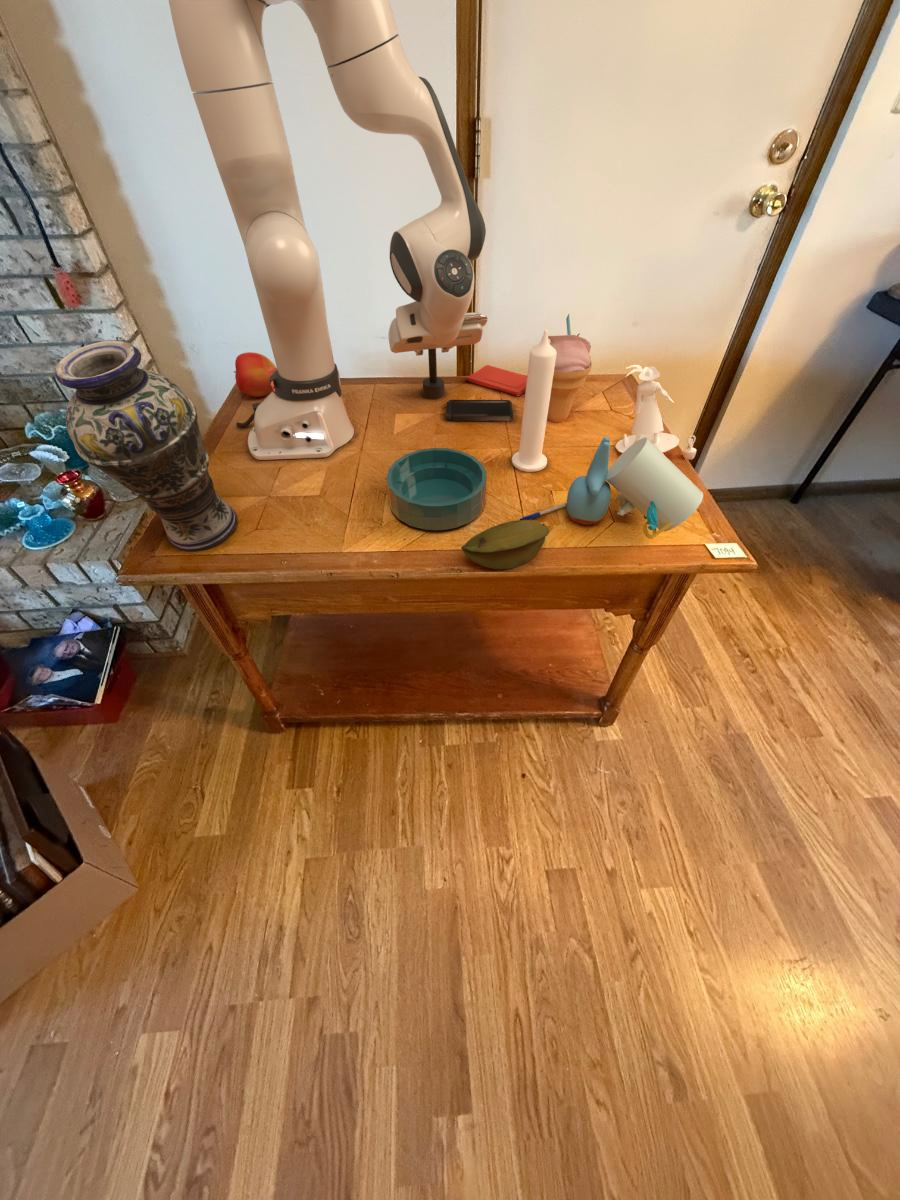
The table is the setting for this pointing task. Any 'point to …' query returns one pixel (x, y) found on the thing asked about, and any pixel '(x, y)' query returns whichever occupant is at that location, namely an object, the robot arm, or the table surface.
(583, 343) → the ice cream cone
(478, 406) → the phone
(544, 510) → the ballpoint pen
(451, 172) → the robot arm
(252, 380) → the apple
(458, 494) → the bowl
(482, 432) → the table surface
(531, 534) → the fruit
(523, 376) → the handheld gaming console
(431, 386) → the dark post on base
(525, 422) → the candle
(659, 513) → the pale green cylinder
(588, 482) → the toy
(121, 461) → the vase
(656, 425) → the figurine
